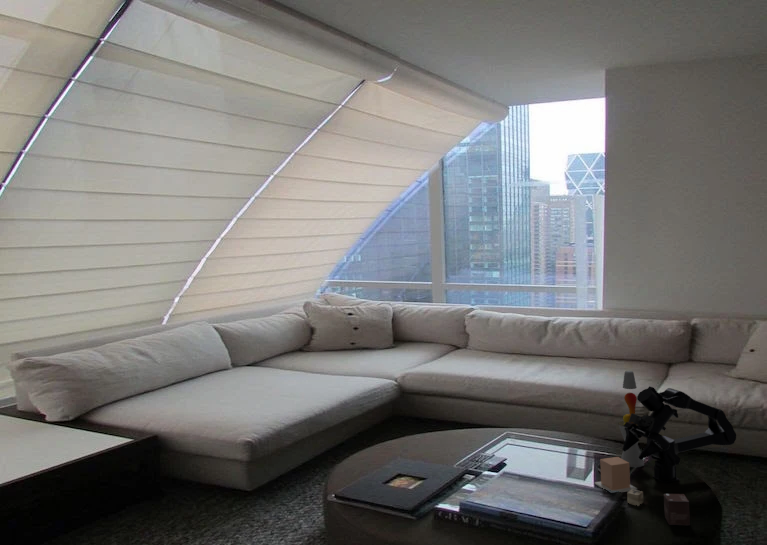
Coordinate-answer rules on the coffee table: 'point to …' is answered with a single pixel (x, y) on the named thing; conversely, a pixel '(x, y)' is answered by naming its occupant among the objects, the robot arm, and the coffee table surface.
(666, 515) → the box
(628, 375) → the lava lamp
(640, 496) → the marked cube
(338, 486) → the coffee table surface
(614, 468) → the tan block
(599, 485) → the mat
